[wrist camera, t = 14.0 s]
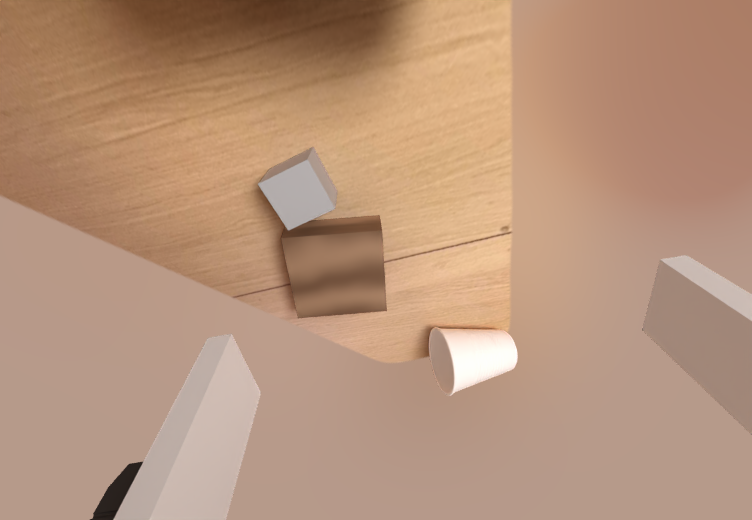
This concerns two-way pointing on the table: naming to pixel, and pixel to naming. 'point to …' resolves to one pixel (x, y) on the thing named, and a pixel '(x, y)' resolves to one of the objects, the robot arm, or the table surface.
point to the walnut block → (336, 266)
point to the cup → (469, 356)
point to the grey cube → (299, 189)
